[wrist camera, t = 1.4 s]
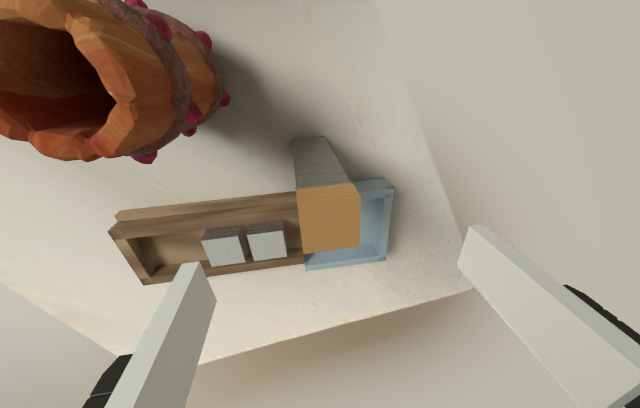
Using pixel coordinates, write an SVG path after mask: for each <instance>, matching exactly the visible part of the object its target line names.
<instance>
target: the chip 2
mask: <svg viewBox="0 0 640 408" xmlns="http://www.w3.org/2000/svg"><path fill="white" fill-rule="evenodd" d="M247 238H248V241H249V245H250V248H251V252H252V255H253V259H254V261H259V260H266V259H273V258H281V257H287V240H286V234H285V229H284V223H283V220H277V221H268V222H260V223H252V224H249V228H248V232H247Z"/></svg>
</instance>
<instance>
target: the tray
mask: <svg viewBox="0 0 640 408" xmlns="http://www.w3.org/2000/svg"><path fill="white" fill-rule="evenodd" d="M350 182H351V183H353V184H354V186H355V188H356V190H357V191H358V193H359V195H360V196H361V219H360V245H359V247H353V248H345V249H338V250H331V251H323V252H316V253H308V254H304V261H305V270H306V271H312V270H319V269H327V268H334V267H341V266H348V265H355V264H362V263H369V262H376V261H383V260H386V253H387V245H388V237H389V229H390V220H391V212H392V204H393V195H394V188H393V187H392V185H391V184H390V183H389V182H388V181H387V180H386V179H385V178H377V179H368V180H359V181H350ZM296 189H297V187H296ZM296 199H297V196H296Z"/></svg>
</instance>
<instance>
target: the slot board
mask: <svg viewBox="0 0 640 408" xmlns="http://www.w3.org/2000/svg"><path fill="white" fill-rule="evenodd" d="M115 218H116V219H117V221H118V222H117V223H116V224H115V225H114V226H113V227H112V228H111V229H110V230H109V231H107V232H108V233H109V235H110V236H111V237H112V239H113V240H114V242H115V243H116V245H117V246H118V248H119V249H120V251H121V252H122V254H123V255H124V257H125V258H126V260H127V261H128V263H129V264H130V266H131V267H132V269H133V270H134V272H135V273H136V275H137V276H138V278H139V279H140V281H141V282H142V284H143V285H151V284H158V283H166V282H172V281H173V279H174V277H175V276H176V274H177V272H178V270H179V268H180V266H181V264H183V263H191V262H198V261H199V262H200V264H201V266H202V268H203V271H204V273H205V275H206V277H209V276H216V275H223V274H231V273H238V272H245V271H252V270H260V269H267V268H274V267H281V266H289V265H296V264H303V263H305V262H304V254H303V246H302V238H301V230H300V222H299V215H298V207H297V199H296V191H294V192H285V193H276V194H267V195H258V196H249V197H240V198H231V199H222V200H213V201H204V202H195V203H186V204H178V205H169V206H160V207H151V208H142V209H133V210H124V211H119V212H118V213H117V214H116V215H115ZM277 220H283V223H284V229H285V234H286V240H287V257H281V258H273V259H266V260H259V261H254V259H253V255H252V252H251V248H250V245H249V241H248V238H247V232H248V228H249V224H252V223H260V222H268V221H277ZM236 225H242V227H243V231H244V234H245V238H246V241H247V245H248V253H247V258H246V262H244V263H236V264H229V265H222V266H214V267H211V264H210V262H209V259H208V257H207V255H206V252H205V250H204V247H203V245H202V243H201V239H202V237H203V235H204V233H205V231H206V229H211V228H219V227H227V226H236Z"/></svg>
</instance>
